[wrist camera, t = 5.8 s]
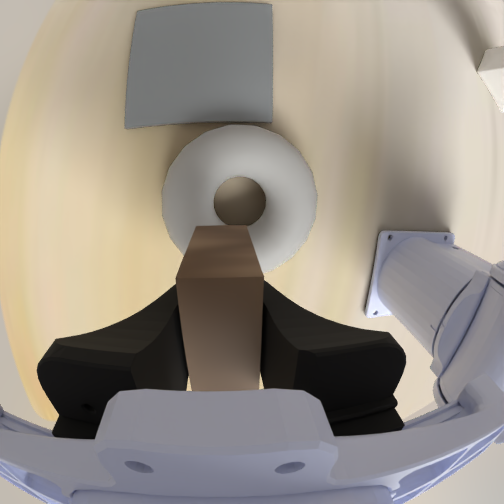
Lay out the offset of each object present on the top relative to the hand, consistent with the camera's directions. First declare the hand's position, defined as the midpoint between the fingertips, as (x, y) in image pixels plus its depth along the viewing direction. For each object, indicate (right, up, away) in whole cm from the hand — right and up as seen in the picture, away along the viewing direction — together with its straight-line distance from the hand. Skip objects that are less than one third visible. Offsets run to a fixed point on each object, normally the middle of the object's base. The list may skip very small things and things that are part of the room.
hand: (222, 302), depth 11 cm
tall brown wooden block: (0, +1, +3) cm, 3 cm away
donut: (-3, +2, +6) cm, 7 cm away
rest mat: (-2, +15, +4) cm, 16 cm away
